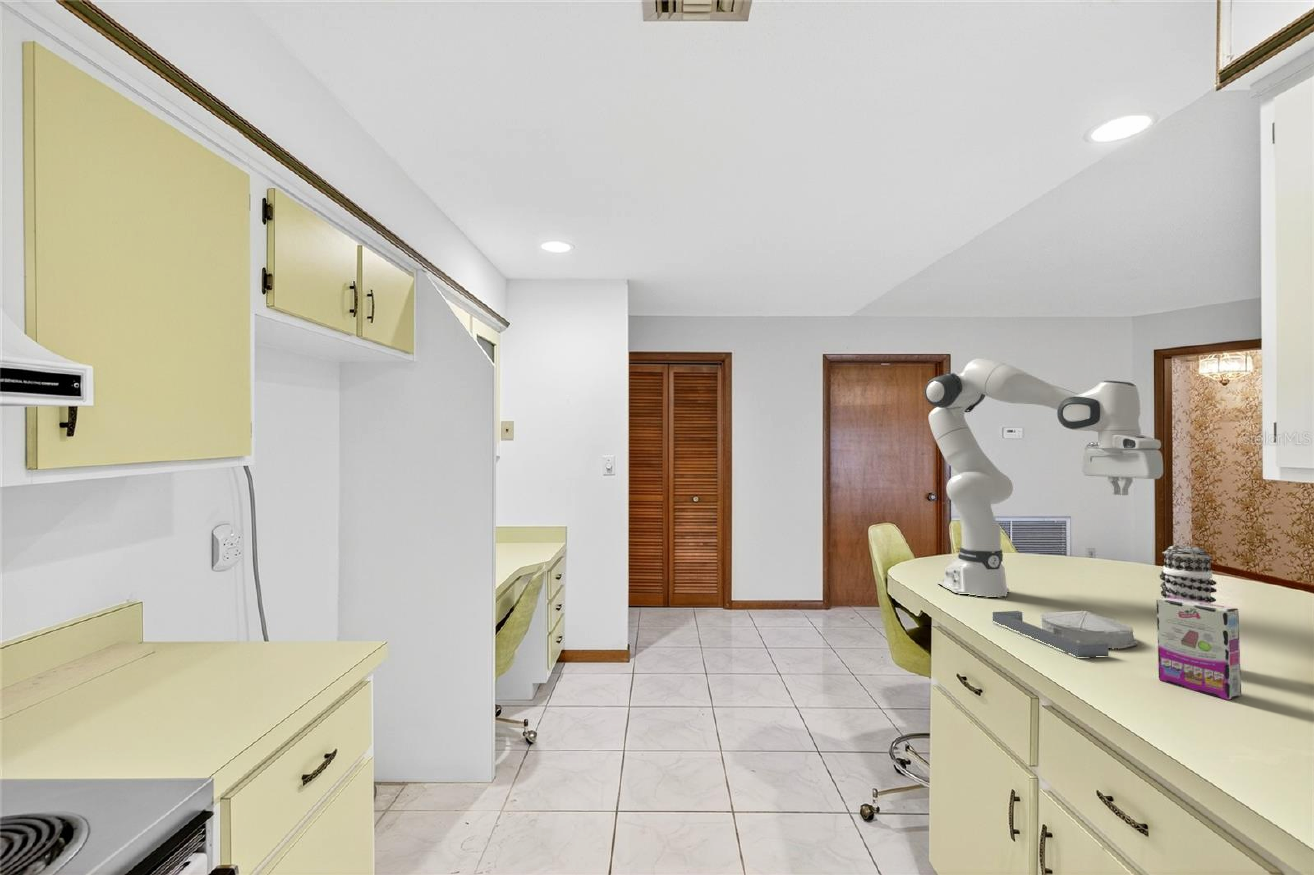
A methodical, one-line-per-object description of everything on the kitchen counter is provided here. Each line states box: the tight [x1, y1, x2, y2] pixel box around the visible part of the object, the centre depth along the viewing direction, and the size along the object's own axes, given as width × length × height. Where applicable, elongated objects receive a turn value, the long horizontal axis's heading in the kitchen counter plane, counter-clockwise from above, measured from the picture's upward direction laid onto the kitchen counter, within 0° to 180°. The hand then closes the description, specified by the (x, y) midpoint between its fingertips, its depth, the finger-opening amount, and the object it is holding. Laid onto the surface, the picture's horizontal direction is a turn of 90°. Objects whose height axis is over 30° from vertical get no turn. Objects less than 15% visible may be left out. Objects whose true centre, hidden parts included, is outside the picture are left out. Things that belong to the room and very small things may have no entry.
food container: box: [1040, 610, 1139, 649], centre depth 146 cm, size 20×20×7 cm
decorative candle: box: [1159, 545, 1217, 604], centre depth 127 cm, size 9×9×25 cm
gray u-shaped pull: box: [992, 610, 1110, 657], centre depth 145 cm, size 27×8×3 cm, turn 8°
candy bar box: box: [1156, 596, 1242, 701], centre depth 115 cm, size 11×5×16 cm, turn 25°
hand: (1120, 494), depth 155 cm, fingers closed
